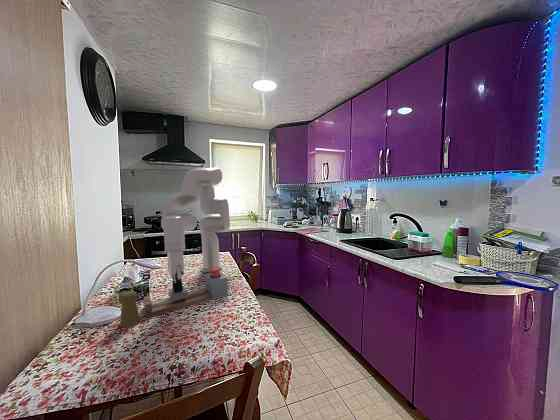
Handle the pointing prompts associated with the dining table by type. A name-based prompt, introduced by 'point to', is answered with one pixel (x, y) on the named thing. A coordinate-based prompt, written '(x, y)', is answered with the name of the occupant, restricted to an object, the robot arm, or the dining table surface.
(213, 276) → the button
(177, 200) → the robot arm
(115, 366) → the dining table surface
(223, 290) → the end cabinet
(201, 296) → the board
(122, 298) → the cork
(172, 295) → the carriage
